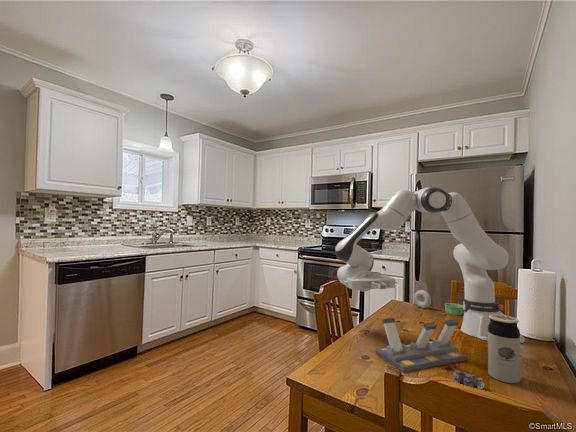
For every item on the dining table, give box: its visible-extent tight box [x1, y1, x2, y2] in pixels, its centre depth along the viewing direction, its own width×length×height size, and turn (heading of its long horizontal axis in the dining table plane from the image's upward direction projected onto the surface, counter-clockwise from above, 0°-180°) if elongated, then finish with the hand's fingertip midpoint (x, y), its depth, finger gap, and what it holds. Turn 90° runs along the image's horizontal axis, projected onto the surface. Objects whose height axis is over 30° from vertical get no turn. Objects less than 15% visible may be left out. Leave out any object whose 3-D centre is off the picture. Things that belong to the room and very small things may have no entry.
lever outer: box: [381, 317, 403, 352], centre depth 103 cm, size 2×4×11 cm, turn 110°
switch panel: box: [375, 338, 468, 373], centre depth 105 cm, size 14×27×5 cm, turn 110°
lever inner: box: [437, 318, 460, 345], centre depth 106 cm, size 2×4×11 cm, turn 110°
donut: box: [413, 289, 432, 309], centre depth 169 cm, size 10×4×10 cm, turn 32°
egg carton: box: [451, 368, 485, 391], centre depth 83 cm, size 11×8×4 cm
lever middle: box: [414, 321, 438, 349], centre depth 103 cm, size 2×4×11 cm, turn 110°
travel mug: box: [487, 314, 521, 384], centre depth 91 cm, size 8×8×18 cm
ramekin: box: [444, 302, 464, 316], centre depth 159 cm, size 9×9×4 cm
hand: (383, 286), depth 112 cm, fingers closed
